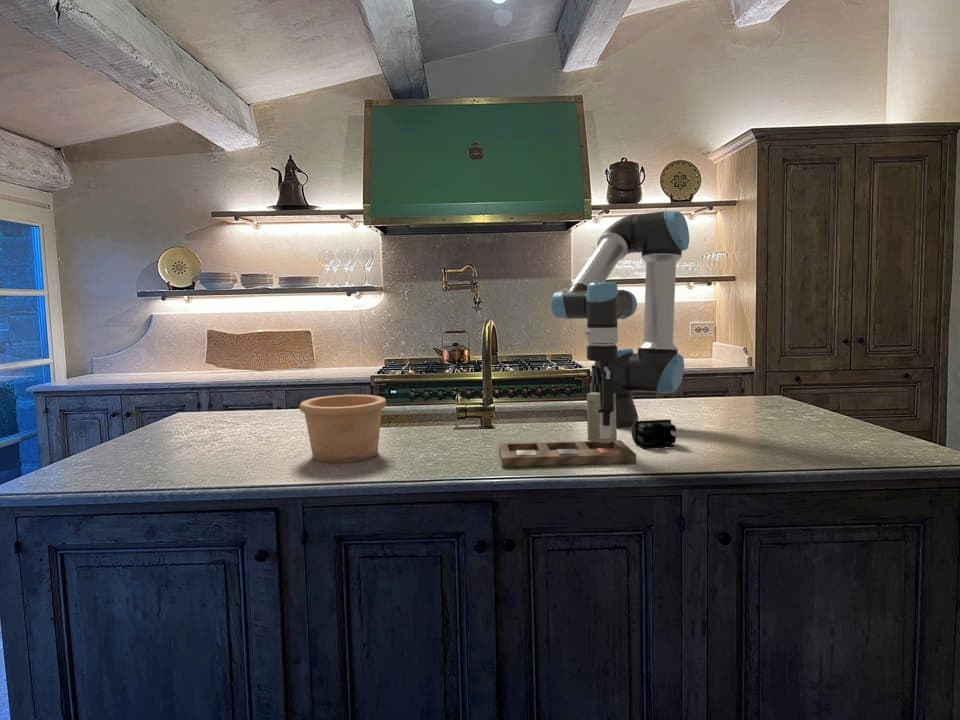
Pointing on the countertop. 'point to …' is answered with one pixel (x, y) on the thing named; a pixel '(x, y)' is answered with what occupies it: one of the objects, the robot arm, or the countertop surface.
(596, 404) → the skincare box
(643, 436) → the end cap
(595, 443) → the socket plate
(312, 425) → the pottery
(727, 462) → the countertop surface
